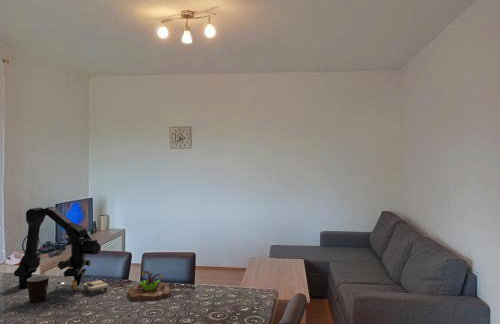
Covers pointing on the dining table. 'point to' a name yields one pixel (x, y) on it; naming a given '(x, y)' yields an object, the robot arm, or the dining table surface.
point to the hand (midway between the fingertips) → (78, 285)
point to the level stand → (93, 286)
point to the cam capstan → (64, 286)
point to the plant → (149, 289)
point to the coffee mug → (37, 288)
